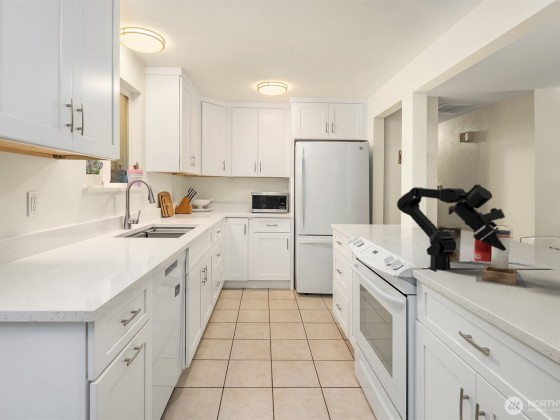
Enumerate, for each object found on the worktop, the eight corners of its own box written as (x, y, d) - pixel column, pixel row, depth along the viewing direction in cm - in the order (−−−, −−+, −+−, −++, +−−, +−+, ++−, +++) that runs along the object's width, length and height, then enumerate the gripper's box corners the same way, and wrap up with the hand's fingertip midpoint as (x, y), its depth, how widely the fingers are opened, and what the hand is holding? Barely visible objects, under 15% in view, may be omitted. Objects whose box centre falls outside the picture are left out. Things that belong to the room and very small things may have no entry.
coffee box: (436, 262, 140) (437, 227, 139) (437, 259, 145) (438, 225, 144) (459, 264, 135) (461, 228, 134) (460, 262, 140) (461, 226, 139)
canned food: (494, 264, 136) (495, 239, 135) (473, 262, 140) (474, 238, 140) (495, 261, 142) (496, 237, 141) (474, 259, 146) (475, 236, 146)
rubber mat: (527, 290, 99) (527, 288, 99) (475, 283, 107) (475, 281, 107) (518, 274, 120) (518, 272, 120) (475, 269, 127) (475, 267, 127)
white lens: (498, 269, 106) (500, 231, 105) (487, 265, 111) (489, 229, 110) (512, 268, 107) (514, 231, 106) (500, 265, 112) (502, 229, 111)
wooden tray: (481, 280, 108) (482, 270, 108) (484, 274, 116) (485, 265, 115) (516, 285, 102) (516, 275, 102) (516, 279, 110) (517, 269, 110)
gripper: (486, 201, 102) (527, 237, 96) (491, 199, 117) (527, 231, 111) (458, 223, 108) (495, 258, 102) (466, 219, 122) (499, 250, 116)
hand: (505, 249), depth 107 cm, fingers closed on white lens, 5 cm apart
